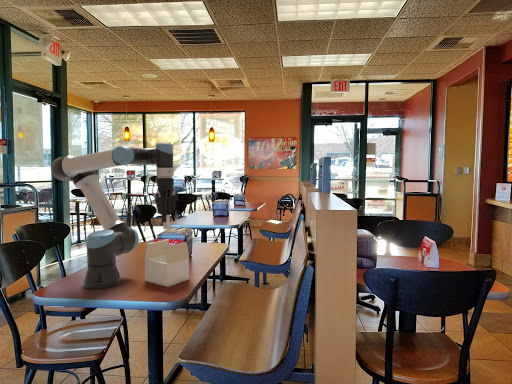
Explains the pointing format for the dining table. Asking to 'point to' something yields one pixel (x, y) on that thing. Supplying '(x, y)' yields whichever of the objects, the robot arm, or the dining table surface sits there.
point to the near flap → (176, 252)
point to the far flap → (155, 248)
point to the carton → (166, 271)
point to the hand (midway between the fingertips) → (166, 228)
